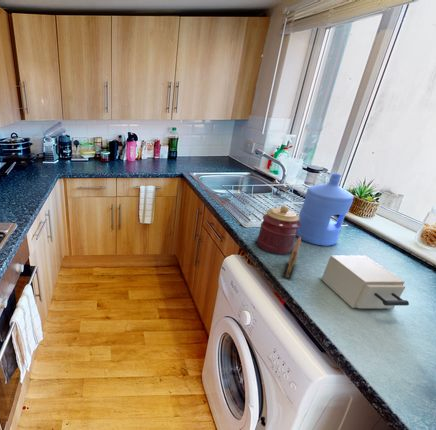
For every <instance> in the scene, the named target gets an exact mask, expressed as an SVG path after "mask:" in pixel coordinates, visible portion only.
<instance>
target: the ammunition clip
mask: <svg viewBox="0 0 436 430" xmlns="http://www.w3.org/2000/svg"><path fill="white" fill-rule="evenodd" d="M301 242H302V239H301V236H300V237H297V239H296V242H295V243H294V245H293V249H292V251H291V252H290V253H291V254H290V256H289V260H288V262H287V265H286V269H285V271H284V274H283V278H285V279H288V280H290V279H291V278H292V274H293V271H294V268H295V265H296V261H297V258H298V256H299V250H300V248H301V247H300V246H301Z"/></svg>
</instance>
